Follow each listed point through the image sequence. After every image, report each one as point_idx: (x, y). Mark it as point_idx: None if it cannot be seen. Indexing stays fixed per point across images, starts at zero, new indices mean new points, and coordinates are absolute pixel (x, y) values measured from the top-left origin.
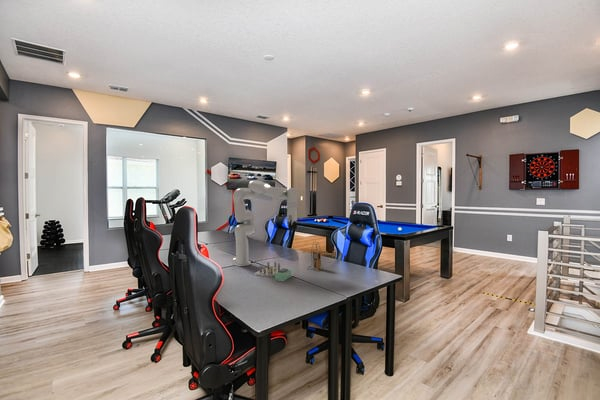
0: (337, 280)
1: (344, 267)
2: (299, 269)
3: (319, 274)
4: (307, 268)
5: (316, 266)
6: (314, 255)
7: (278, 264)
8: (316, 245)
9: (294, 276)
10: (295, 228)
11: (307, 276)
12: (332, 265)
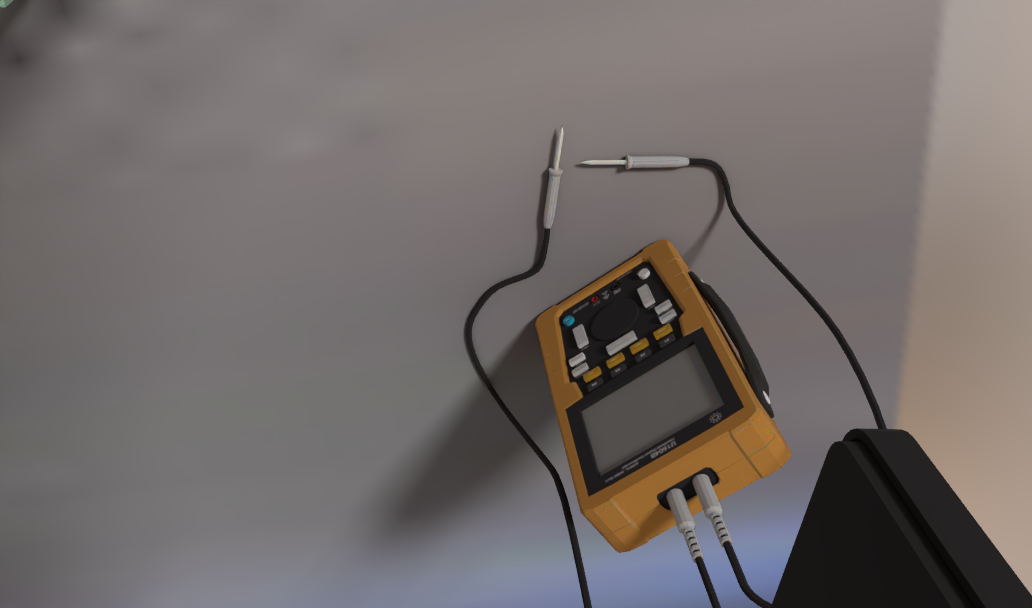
0: (95, 586)
1: (696, 586)
2: (536, 31)
3: (299, 375)
4: (591, 164)
5: (577, 323)
6: (680, 390)
7: None
8: (737, 573)
9: (60, 32)
10: (784, 584)
11: (139, 238)
12: (801, 459)
